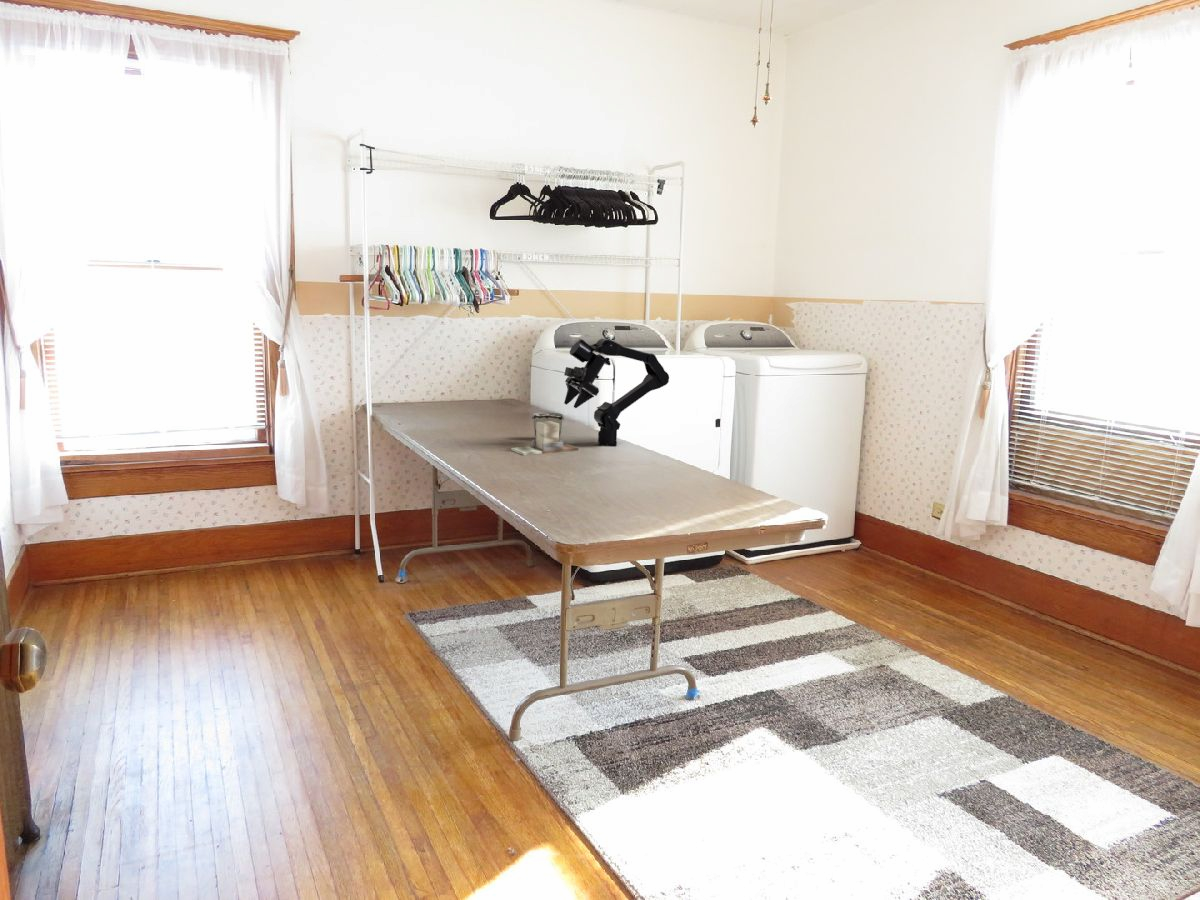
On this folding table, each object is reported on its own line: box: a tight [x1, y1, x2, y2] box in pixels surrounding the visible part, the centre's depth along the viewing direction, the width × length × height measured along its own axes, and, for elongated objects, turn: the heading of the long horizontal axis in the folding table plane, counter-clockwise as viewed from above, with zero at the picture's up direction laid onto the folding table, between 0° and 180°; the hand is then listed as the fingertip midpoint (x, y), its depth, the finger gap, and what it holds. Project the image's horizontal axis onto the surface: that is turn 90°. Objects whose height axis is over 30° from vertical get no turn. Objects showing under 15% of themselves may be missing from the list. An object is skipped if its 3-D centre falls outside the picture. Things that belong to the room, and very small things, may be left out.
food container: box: [531, 411, 565, 442], centre depth 331 cm, size 12×6×10 cm, turn 84°
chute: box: [510, 438, 579, 456], centre depth 310 cm, size 22×10×3 cm, turn 123°
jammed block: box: [536, 421, 560, 449], centre depth 310 cm, size 6×6×9 cm
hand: (569, 405), depth 315 cm, fingers open, 9 cm apart
